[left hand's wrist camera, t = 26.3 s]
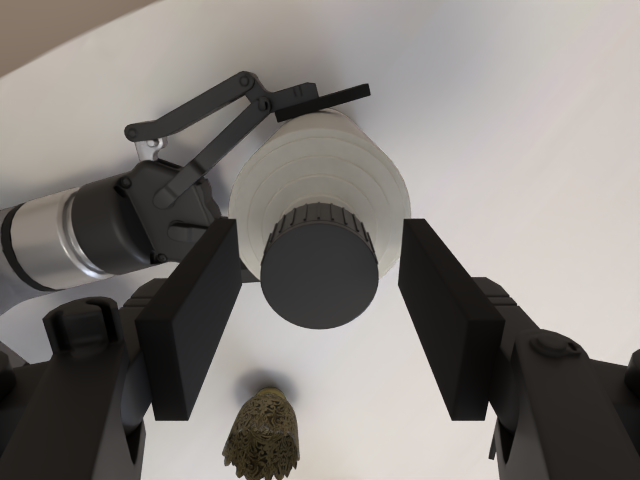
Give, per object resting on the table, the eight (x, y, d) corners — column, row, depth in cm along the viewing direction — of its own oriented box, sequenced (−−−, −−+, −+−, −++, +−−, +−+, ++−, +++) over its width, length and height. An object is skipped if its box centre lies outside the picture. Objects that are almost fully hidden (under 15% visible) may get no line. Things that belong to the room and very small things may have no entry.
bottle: (379, 124, 33) (486, 189, 12) (348, 212, 36) (389, 388, 15) (287, 94, 32) (224, 105, 11) (263, 186, 35) (177, 335, 14)
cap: (330, 178, 13) (332, 196, 11) (392, 260, 15) (404, 290, 12) (245, 241, 14) (232, 269, 12) (310, 313, 15) (308, 350, 13)
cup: (314, 404, 45) (313, 467, 37) (263, 429, 46) (252, 494, 39) (279, 360, 43) (271, 418, 35) (226, 388, 44) (207, 449, 36)
